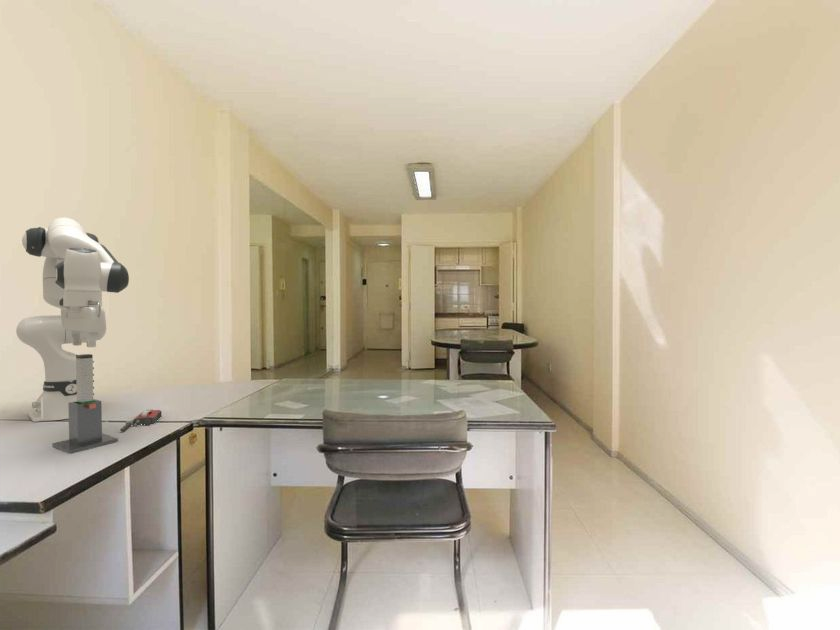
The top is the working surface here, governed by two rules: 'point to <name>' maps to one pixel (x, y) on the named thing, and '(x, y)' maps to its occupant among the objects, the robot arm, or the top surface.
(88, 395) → the column
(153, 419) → the walkie-talkie
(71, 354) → the robot arm
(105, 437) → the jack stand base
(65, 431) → the top surface
